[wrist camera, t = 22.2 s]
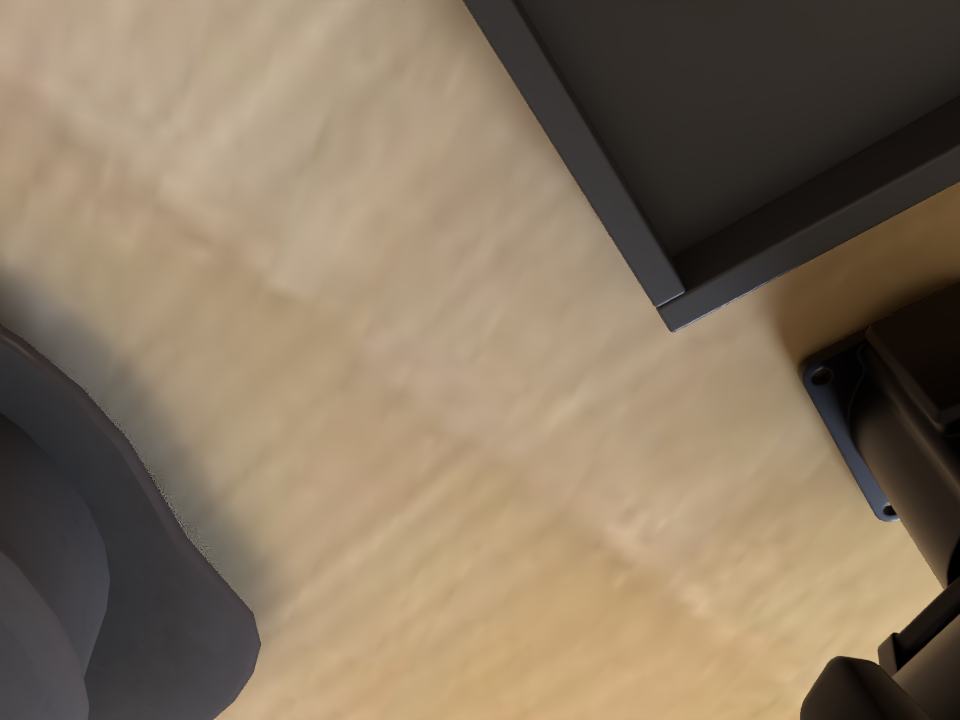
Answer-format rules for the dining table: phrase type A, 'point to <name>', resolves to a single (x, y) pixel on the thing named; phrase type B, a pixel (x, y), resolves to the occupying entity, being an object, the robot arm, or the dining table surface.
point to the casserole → (100, 570)
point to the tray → (737, 125)
